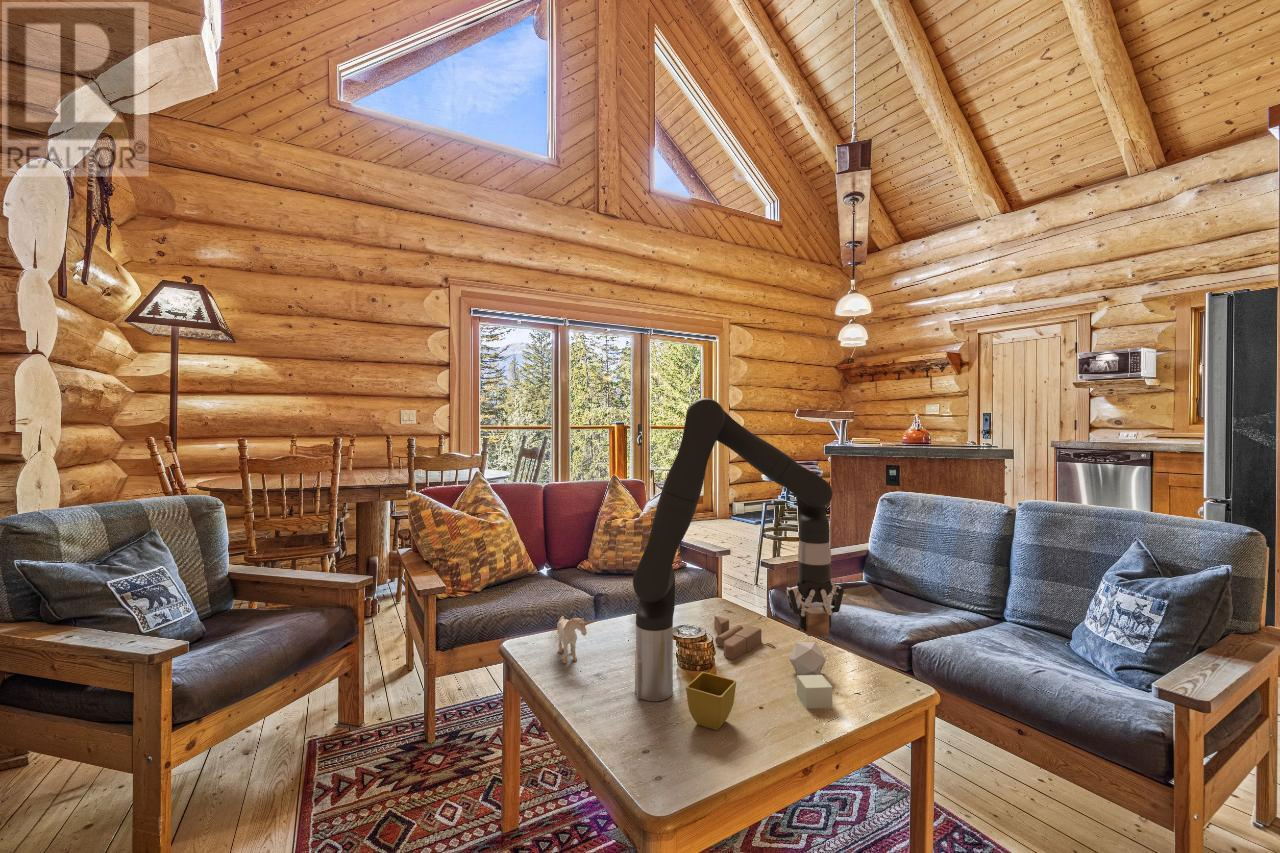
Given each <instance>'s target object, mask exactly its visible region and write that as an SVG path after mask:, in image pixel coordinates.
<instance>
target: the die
mask: <svg viewBox="0 0 1280 853" xmlns="http://www.w3.org/2000/svg"><path fill="white" fill-rule="evenodd" d="M788 660H789V661H790V664H791V665H792V667H793V669H794V670H795V672H796V674H797V675H821V672H822V670H823V668H824V666H825V663H826V661H827V658H826V657H825V655H824V653H823V652H822V650H821V649H820V647H819V645H818V644H817V642H816V641H795V644H794V646H793V648H792V650H791V652H790V656H789V657H788Z"/></svg>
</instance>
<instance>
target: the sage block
mask: <svg viewBox="0 0 1280 853" xmlns="http://www.w3.org/2000/svg"><path fill="white" fill-rule="evenodd" d="M796 697H798V700H799V701H800V702H801V704H802V705H803V706H804V708H805V709H823V708H824V709H825V708H826V709H827V708H833V686H832V685H831V684H830V682H829V681H828V680H827V678H826V677H825V676H824V675H823V674H820V675H798V674H797V675H796Z"/></svg>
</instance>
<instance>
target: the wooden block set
mask: <svg viewBox="0 0 1280 853" xmlns="http://www.w3.org/2000/svg"><path fill="white" fill-rule="evenodd" d="M713 622H714V626H713V627H714V630H715V632H716V633H717V636H716V637H715V639H714V641H715V644H716V646H718V647H720V648H722V647H723V655H724V657H725V658H726V659H728V660H730V661H733V660H734V659H736V658H737V657H739V656H741V655H742V654H744V653H745V652H749V651H751V650H752V649H753V648H755V647H757V646H759V645H760V644H761V643H762V634H763V633H762V628H760V627H756V626H751V625H747V626H746V627H743V626H742V625H741V624H740V625H739V624H737V625H735V626H733V627H731V628H730V619H728V618H726V617H725V618H724V617H720V616H717V615H714V621H713Z"/></svg>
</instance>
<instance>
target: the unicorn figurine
mask: <svg viewBox="0 0 1280 853" xmlns="http://www.w3.org/2000/svg"><path fill="white" fill-rule="evenodd" d="M584 618H585V617H583V618H580V617H573V618H571V619H565V616H564V615H562V616H561V617H560V618H559V620H558V622H557V624H556V626H557V634H558V645H557V647H558V654H563V653H564V655H562V664H567V662H568V652H569V650H568V645H569V644H570V652H571V655H572V661H573V662H577V661H578V658H577V655H576V648H577V647H576V644H577V641H578V634H577V632H576V630H577V631H579V632H580V633H581V635H582V636H583V637H584V636H585V637H586V635H587V634H588V633H587V632H588V631H587V628H586V626H588V625H590V624H593V623H596V622H599V619H593V620H590V621H587V622H585V620H584Z"/></svg>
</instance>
